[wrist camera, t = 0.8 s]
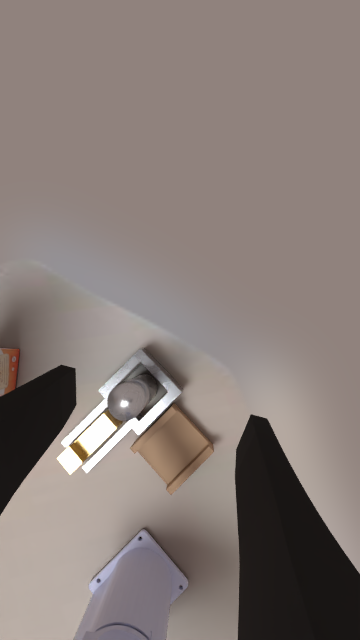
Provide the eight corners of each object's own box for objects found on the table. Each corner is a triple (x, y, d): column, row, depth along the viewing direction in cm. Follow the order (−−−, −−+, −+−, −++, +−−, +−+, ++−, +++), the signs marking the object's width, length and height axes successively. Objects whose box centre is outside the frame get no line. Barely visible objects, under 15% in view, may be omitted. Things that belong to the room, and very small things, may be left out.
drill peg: (143, 407, 33) (123, 428, 24) (125, 387, 33) (99, 401, 25) (162, 388, 33) (149, 402, 24) (144, 368, 33) (125, 376, 25)
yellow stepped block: (84, 461, 32) (70, 474, 29) (72, 446, 33) (56, 458, 29) (122, 422, 33) (113, 431, 29) (110, 408, 33) (99, 415, 29)
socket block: (95, 476, 32) (86, 487, 30) (59, 433, 33) (47, 440, 31) (183, 388, 32) (181, 392, 30) (144, 348, 33) (140, 348, 31)
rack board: (173, 484, 31) (171, 495, 29) (134, 441, 32) (130, 448, 30) (213, 444, 31) (213, 451, 29) (173, 402, 32) (171, 406, 30)
